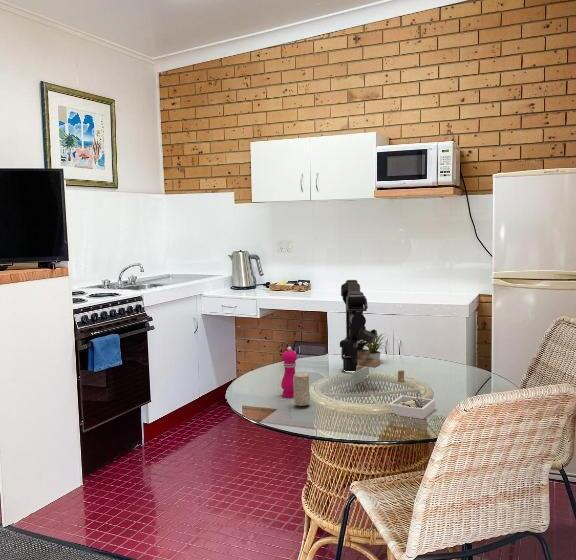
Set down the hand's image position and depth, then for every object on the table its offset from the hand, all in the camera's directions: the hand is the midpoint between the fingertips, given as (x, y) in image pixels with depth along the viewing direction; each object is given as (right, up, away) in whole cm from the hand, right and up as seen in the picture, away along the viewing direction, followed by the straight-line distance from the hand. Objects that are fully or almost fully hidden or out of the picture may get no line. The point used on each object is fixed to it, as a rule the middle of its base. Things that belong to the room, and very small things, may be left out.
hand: (356, 360), depth 255 cm
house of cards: (+21, -15, -29) cm, 39 cm away
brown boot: (+5, -1, -3) cm, 6 cm away
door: (+3, -10, +10) cm, 14 cm away
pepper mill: (-27, -13, -7) cm, 31 cm away
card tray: (+17, -14, -31) cm, 38 cm away
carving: (-23, -14, -20) cm, 34 cm away
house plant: (+14, -8, +42) cm, 45 cm away
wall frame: (+11, -10, +12) cm, 19 cm away
